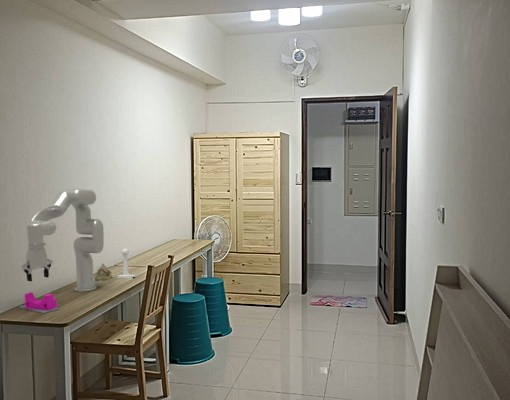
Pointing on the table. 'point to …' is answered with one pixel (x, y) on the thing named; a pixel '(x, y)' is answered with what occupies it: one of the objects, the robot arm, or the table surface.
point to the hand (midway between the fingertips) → (38, 279)
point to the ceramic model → (103, 273)
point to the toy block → (40, 302)
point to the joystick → (125, 265)
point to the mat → (39, 310)
